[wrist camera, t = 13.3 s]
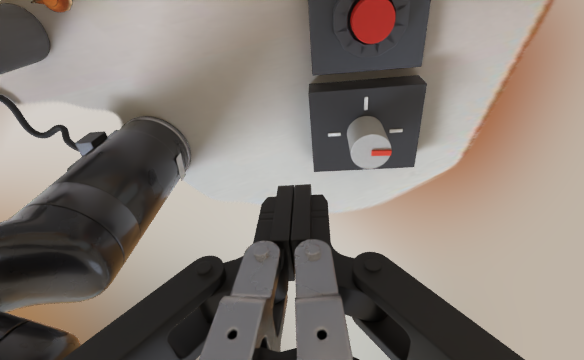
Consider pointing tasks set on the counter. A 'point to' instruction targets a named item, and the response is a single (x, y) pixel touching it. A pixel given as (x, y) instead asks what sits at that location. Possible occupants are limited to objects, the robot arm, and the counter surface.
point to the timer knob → (368, 142)
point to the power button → (372, 20)
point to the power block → (356, 54)
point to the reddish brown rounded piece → (56, 4)
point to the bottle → (20, 38)
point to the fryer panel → (365, 102)
